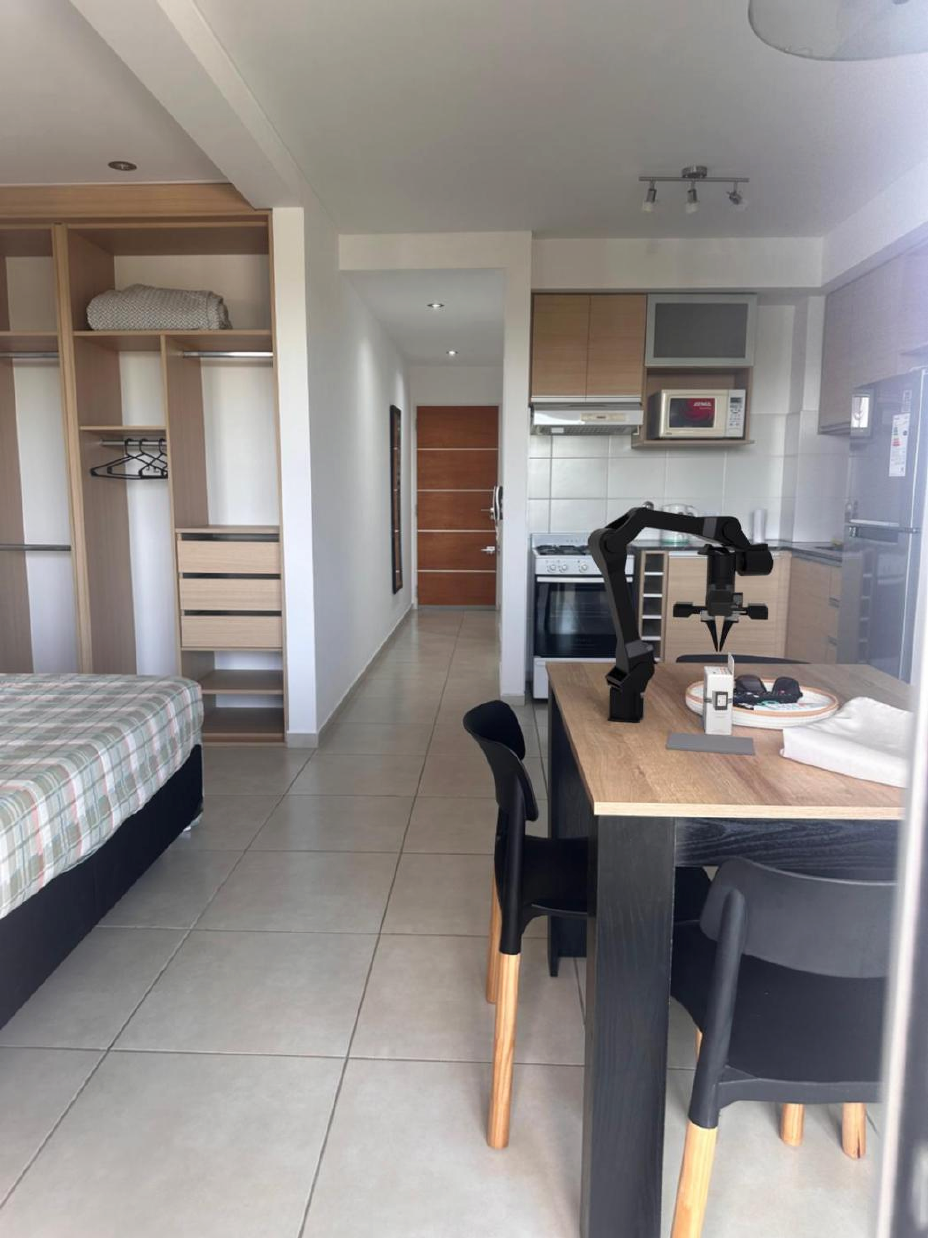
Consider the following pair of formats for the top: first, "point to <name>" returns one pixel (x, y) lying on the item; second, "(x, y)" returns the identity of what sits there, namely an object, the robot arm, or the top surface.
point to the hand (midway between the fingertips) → (718, 651)
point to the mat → (711, 743)
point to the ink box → (718, 699)
